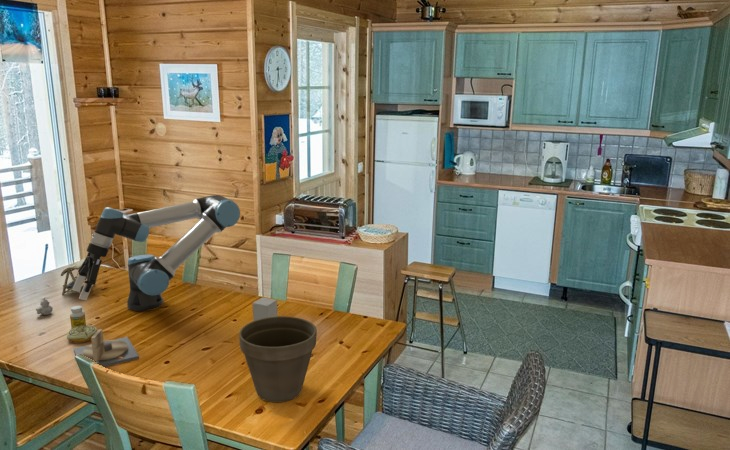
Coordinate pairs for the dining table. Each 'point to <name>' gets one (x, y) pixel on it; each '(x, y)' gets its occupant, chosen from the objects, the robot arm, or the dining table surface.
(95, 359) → the dial
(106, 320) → the dining table surface
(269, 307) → the supplement box
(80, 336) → the decorated donut
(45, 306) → the white animal figurine
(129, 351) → the dial plate
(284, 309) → the dining table surface
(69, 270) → the swing bench
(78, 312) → the supplement bottle
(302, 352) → the plant pot
